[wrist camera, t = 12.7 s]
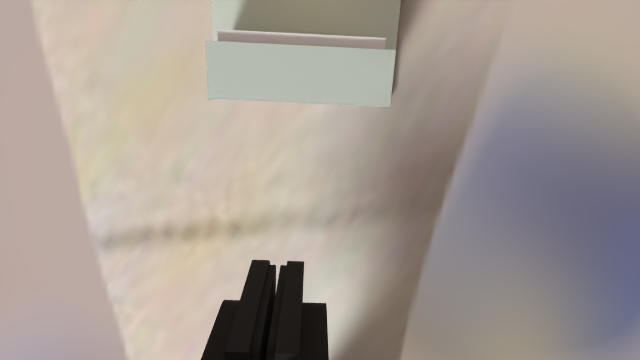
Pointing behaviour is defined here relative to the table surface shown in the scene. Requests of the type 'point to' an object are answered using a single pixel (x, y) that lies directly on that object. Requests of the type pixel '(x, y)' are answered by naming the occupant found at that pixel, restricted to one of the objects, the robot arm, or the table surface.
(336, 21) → the vise body
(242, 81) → the sliding jaw
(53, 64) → the table surface
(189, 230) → the table surface
